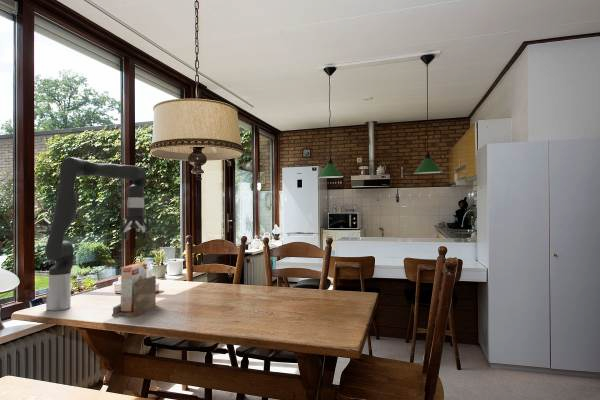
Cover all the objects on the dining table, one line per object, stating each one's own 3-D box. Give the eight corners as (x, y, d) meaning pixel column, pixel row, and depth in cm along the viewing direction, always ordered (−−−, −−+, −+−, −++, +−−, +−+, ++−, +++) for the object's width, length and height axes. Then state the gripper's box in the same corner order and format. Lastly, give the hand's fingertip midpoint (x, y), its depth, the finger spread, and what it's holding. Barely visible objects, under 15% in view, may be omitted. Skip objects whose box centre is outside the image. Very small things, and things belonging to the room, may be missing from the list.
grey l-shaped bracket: (112, 316, 170) (112, 283, 171) (132, 304, 190) (132, 275, 191) (137, 316, 170) (138, 283, 170) (155, 305, 190) (155, 275, 190)
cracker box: (132, 312, 173) (132, 267, 174) (119, 312, 174) (120, 267, 174) (147, 304, 187) (147, 263, 188) (135, 304, 188) (136, 262, 188)
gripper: (117, 206, 178) (117, 240, 177) (147, 206, 178) (146, 240, 177) (125, 207, 185) (124, 239, 185) (153, 207, 185) (153, 239, 185)
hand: (135, 240), depth 181 cm, fingers open, 8 cm apart
